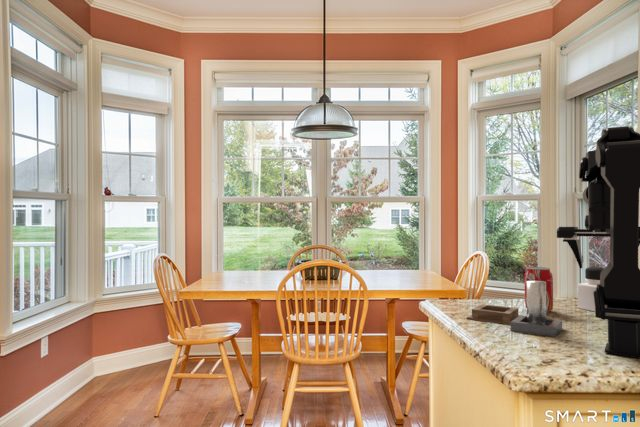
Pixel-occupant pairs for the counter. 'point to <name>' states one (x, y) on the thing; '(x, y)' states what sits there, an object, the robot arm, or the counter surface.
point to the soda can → (541, 275)
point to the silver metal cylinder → (536, 302)
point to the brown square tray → (494, 314)
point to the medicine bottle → (589, 288)
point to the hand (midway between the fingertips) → (603, 269)
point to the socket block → (536, 326)
